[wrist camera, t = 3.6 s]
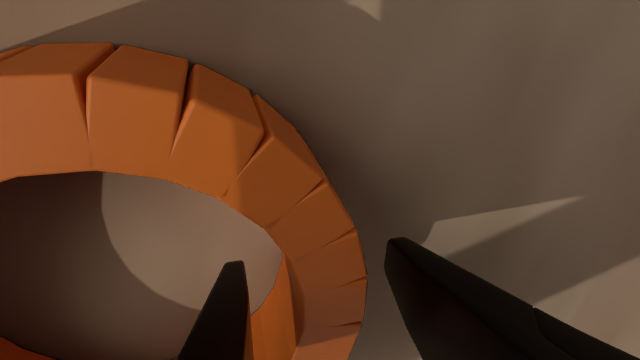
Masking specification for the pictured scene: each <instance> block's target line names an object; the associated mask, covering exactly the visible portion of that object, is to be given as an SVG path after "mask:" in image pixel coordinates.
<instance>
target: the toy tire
mask: <svg viewBox="0 0 640 360" xmlns="http://www.w3.org/2000/svg"><path fill="white" fill-rule="evenodd" d="M188 65H189V64H188V61H187V60H186V59H184V58H180V57H175V56H171V55H167V54H162V53H158V52H154V51H149V50H145V49H141V48H137V47H132V46H128V45H121V46H120V47H119V48H118V49H117V50H116V51H115V49H114V46H113V44H112V43H42V44H39V45H37V46H35V47H31V46H29V45H27V46H23V47H20V48H16V49H12V50H9V51H5V52H2V53H0V182H3V181H6V180H9V179H12V178H16V177H22V176H34V175H46V174H58V173H70V172H82V171H94V170H96V171H104V172H112V173H120V174H128V175H136V176H144V177H152V178H159V179H166V180H168V181H171V182H174V183H177V184H180V185H182V186H185V187H188V188H191V189H194V190H196V191H199V192H202V193H205V194H208V195H211V196H213V197H216V198H218V199H220V200H221V201H223V202H224V203H226V204H227V205H229V206H230V207H232V208H233V209H235V210H236V211H238V212H239V213H241V214H242V215H244V216H245V217H247V218H248V219H250V220H252V221H253V222H255V223H256V224H258V225H259V226H261V227H262V228H264V229H265V231H266V232H267V233H268V234H269V235H270V237H271V238H272V239H273V240H274V241H275V243H276V244H277V245H278V246H279V247H280V249H281V250H282V251H283V259H282V262H281V265H280V269H279V272H278V275H277V279H276V282H275V286H274V287H273V289H272V290H271V292H270V293H269V295H268V297H267V298H266V300H265V301H264V303H263V304H262V306H261V307H260V308H259V309H258V310H257V311H256V312H255V313H254V314H253V315H251V316H250V318H251V330H252V343H253V355H254V360H347V359H348V357H349V355H350V352H351V350H352V348H353V346H354V343H355V341H356V339H357V336H358V334H359V332H360V330H361V327H362V323H361V321H362V320H363V319H364V311H365V302H366V293H367V284H368V280H367V278H366V275H367V269H366V265H365V260H364V256H363V251H362V247H361V243H360V238H359V234H358V232H357V230H356V228H355V226H354V222H353V221H352V219H351V217H350V215H349V214H348V212H347V210H346V209H345V207H344V205H343V204H342V202H341V200H340V199H339V197H338V195H337V194H336V192H335V190H334V189H333V187H332V185H331V183H330V182H329V180H328V178H327V177H326V175H325V173H324V172H323V170H322V168H321V167H320V165H319V164H318V162H317V160H316V159H315V157H314V156H313V154H312V152H311V151H310V149H309V148H308V146H307V144H306V143H305V141H304V140H303V138H302V137H301V135H300V134H298V133H297V131H296V130H295V128H294V127H293V126H292V125H291V124H290V123H289V122H288V121H287V120H285V119H284V118H283V117H282V116H281V115H280V114H279V113H278V112H277V111H275V110H274V109H273V108H272V107H271V106H270V105H269V104H268V103H266V102H265V101H264V100H263V99H262V98H261V97H260V96H259V95H257V94H255V95H254V96H253V97H252V96H251V94H250V91H249V90H248V89H247V88H245V87H243V86H242V85H240V84H238V83H236V82H234V81H232V80H230V79H228V78H226V77H224V76H222V75H220V74H218V73H216V72H214V71H212V70H210V69H208V68H206V67H204V66H202V65H200V64H196V65H195V66H193V68H192V70H191V73H190V75H189V77H188V79H187V72H188ZM186 79H187V81H186ZM0 360H56V359H53V358H50V357H47V356H43V355H40V354H37V353H34V352H31V351H28V350H25V349H22V348H20V347H19V346H17V345H15V344H13V343H11V342H10V341H8V340H6V339H4V338H3V337H1V336H0ZM175 360H177V359H175Z"/></svg>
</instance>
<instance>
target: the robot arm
mask: <svg viewBox="0 0 640 360" xmlns="http://www.w3.org/2000/svg"><path fill="white" fill-rule="evenodd" d="M384 269H385V273H386V276H387V279H388V281H389V284H390V287H391V289H392V292H393V294H394V297H395V300H396V302H397V305H398V308H399V310H400V313H401V315H402V318H403V320H404V323H405V325H406V327H407V330H408V332H409V334H410V336H411V338H412V340H413V342H414V343H415V345H416V347H417V349H418V351H419V353H420V355H421V357H422V359H423V360H640V359H639V358H637V357H635V356H633V355H630V354H628V353H626V352H624V351H622V350H620V349H617V348H615V347H613V346H611V345H609V344H607V343H605V342H602V341H600V340H598V339H596V338H594V337H592V336H590V335H588V334H586V333H584V332H582V331H580V330H577V329H576V328H574V327H572V326H570V325H568V324H566V323H564V322H562V321H560V320H558V319H556V318H554V317H552V316H550V315H549V314H547V313H545V312H543V311H541V310H539V309H538V308H533V306H532V305H530V304H528V303H526V302H524V301H522V300H521V299H519V298H517V297H515V296H513V295H511V294H509V293H508V292H506V291H504V290H502V289H500V288H498V287H496V286H495V285H493V284H491V283H489V282H487V281H485V280H483V279H482V278H480V277H478V276H476V275H474V274H472V273H470V272H469V271H467V270H465V269H463V268H461V267H459V266H457V265H456V264H454V263H452V262H450V261H448V260H446V259H444V258H443V257H441V256H439V255H437V254H435V253H433V252H431V251H430V250H428V249H426V248H424V247H422V246H420V245H418V244H417V243H415V242H413V241H411V240H409V239H407V238H405V237H398V238H391V239H389V240H388V242H387V247H386V255H385V262H384ZM177 360H254V355H253V343H252V330H251V318H250V306H249V294H248V286H247V280H246V273H245V266H244V262H243V261H242V260H239V261H232V262H227V263H225V265H224V266H223V268H222V270H221V272H220V274H219V276H218V278H217V280H216V282H215V284H214V286H213V288H212V290H211V292H210V294H209V296H208V298H207V300H206V302H205V304H204V306H203V308H202V310H201V312H200V314H199V316H198V318H197V320H196V322H195V324H194V326H193V328H192V330H191V332H190V334H189V336H188V338H187V340H186V342H185V344H184V346H183V348H182V350H181V352H180V354H179V356H178V358H177Z"/></svg>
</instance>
